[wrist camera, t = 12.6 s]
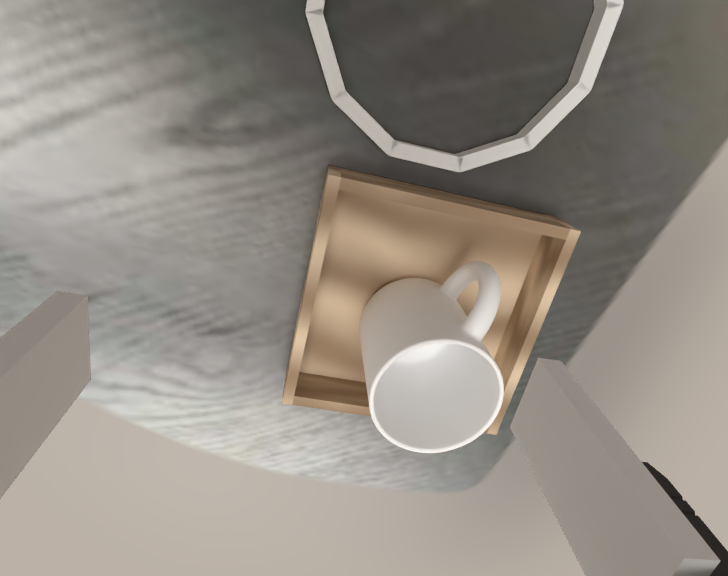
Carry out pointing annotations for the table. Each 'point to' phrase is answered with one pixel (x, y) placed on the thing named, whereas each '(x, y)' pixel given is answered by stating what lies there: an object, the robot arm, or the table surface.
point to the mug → (432, 360)
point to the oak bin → (415, 260)
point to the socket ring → (527, 138)
